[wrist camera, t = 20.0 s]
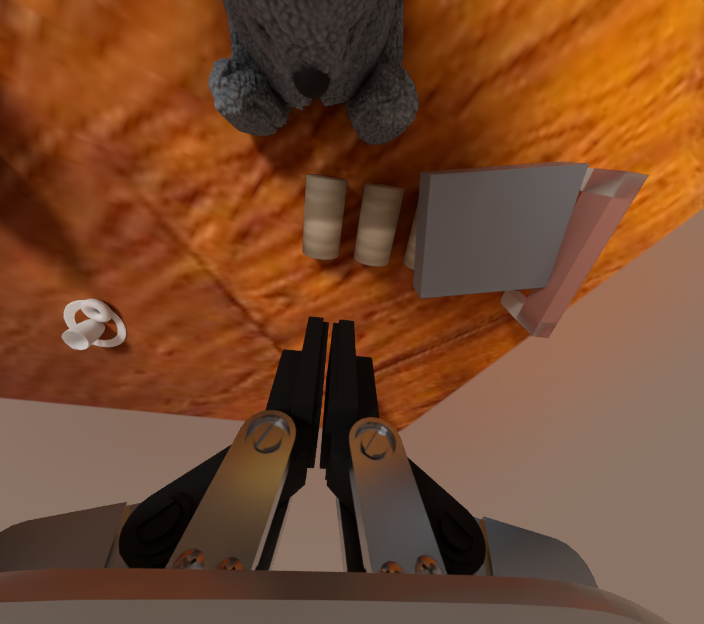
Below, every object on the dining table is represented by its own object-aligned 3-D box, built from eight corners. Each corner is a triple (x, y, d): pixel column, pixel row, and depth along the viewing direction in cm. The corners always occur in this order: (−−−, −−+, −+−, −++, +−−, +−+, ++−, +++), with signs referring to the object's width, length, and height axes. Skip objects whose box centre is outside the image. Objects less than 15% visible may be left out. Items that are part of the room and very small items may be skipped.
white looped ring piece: (97, 287, 37) (72, 301, 34) (144, 330, 41) (125, 348, 38) (53, 312, 39) (25, 328, 36) (102, 352, 43) (80, 370, 39)
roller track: (309, 162, 30) (304, 165, 26) (533, 197, 32) (557, 204, 28) (304, 252, 35) (299, 265, 31) (497, 277, 37) (514, 292, 33)
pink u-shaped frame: (563, 165, 30) (626, 171, 23) (580, 168, 30) (648, 175, 23) (499, 302, 39) (531, 336, 32) (512, 303, 39) (548, 337, 32)
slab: (420, 171, 26) (430, 174, 24) (563, 161, 27) (589, 163, 24) (412, 286, 33) (420, 298, 30) (529, 275, 33) (546, 287, 31)
